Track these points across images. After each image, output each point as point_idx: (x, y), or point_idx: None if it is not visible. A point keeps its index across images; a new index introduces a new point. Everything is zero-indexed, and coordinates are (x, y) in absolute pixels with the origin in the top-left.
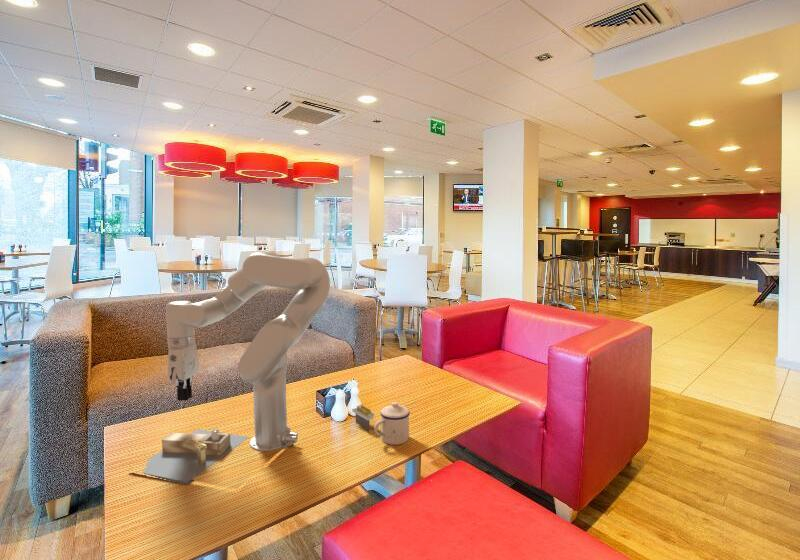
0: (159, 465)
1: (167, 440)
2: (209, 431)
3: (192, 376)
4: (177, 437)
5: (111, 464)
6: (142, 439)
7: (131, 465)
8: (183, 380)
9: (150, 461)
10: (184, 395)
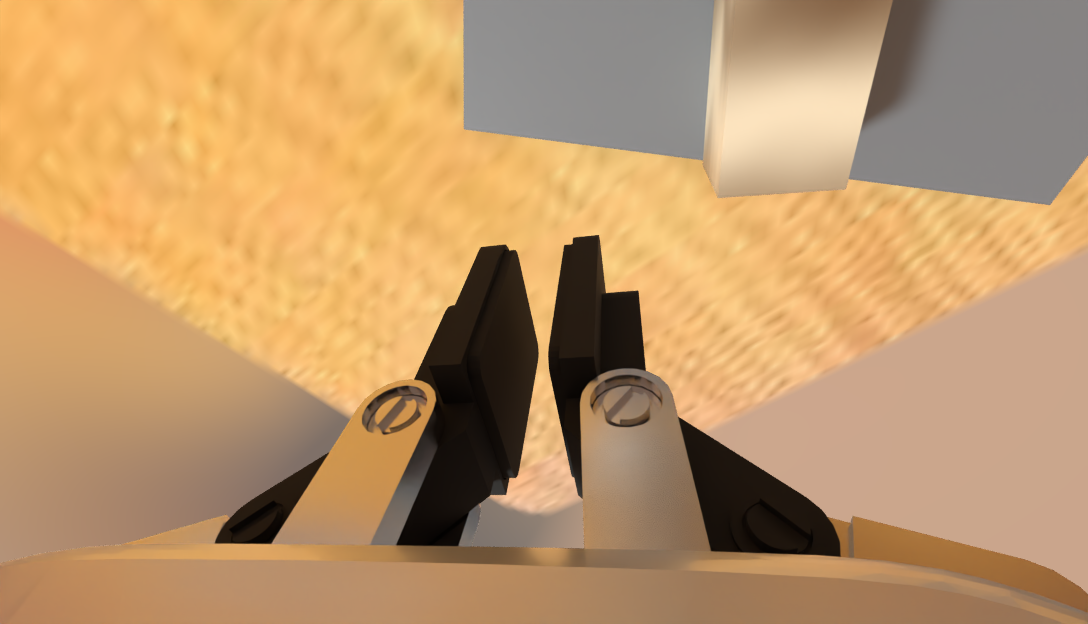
0: (1048, 31)
1: (856, 140)
2: (472, 1)
3: (243, 520)
4: (813, 85)
5: (885, 343)
6: None
7: (924, 245)
8: (1074, 609)
9: (953, 145)
10: (617, 306)
